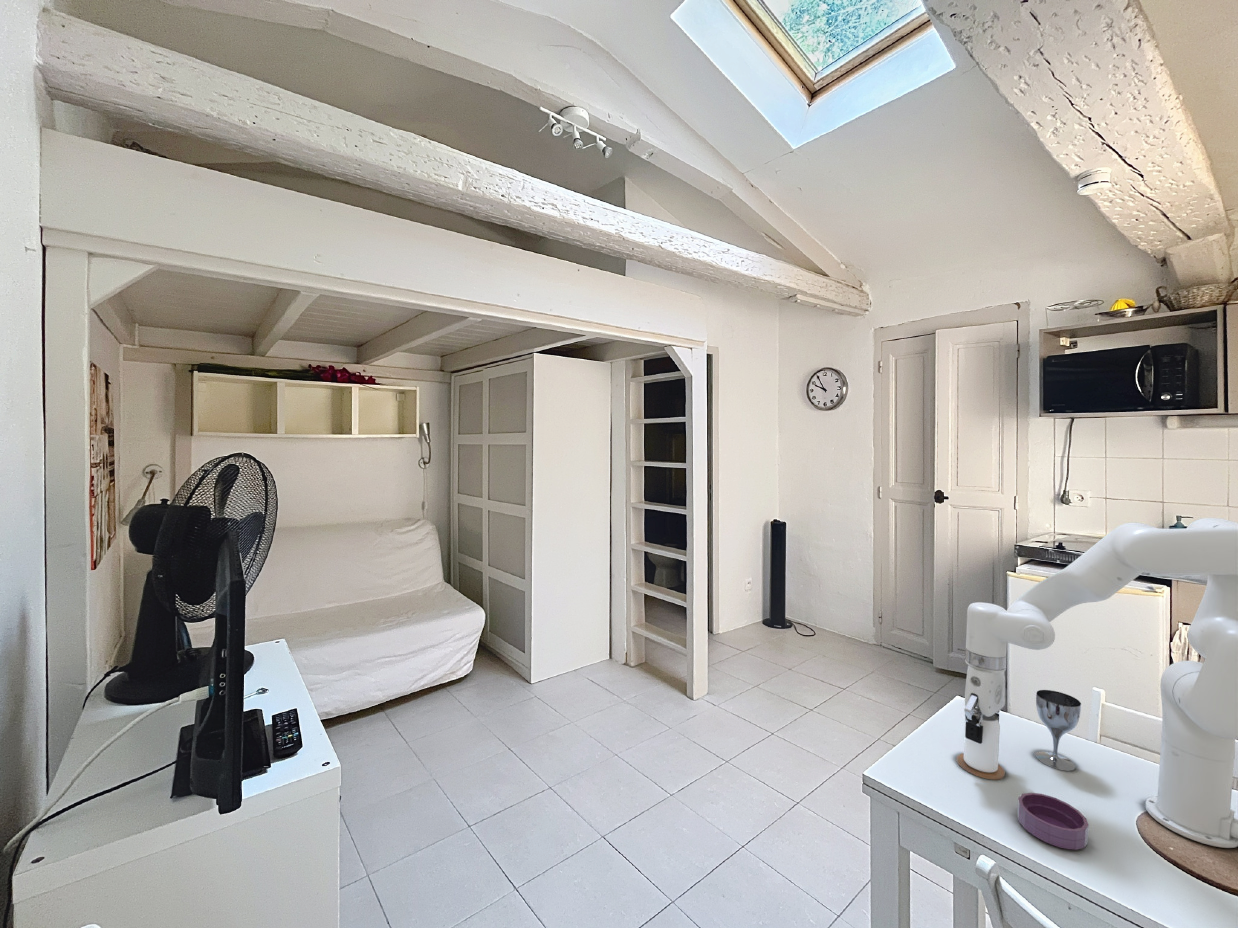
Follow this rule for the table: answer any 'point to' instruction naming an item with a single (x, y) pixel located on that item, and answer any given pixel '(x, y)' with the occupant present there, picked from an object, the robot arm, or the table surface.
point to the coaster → (993, 776)
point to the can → (984, 746)
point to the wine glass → (1057, 723)
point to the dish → (1053, 821)
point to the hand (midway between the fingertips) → (982, 733)
